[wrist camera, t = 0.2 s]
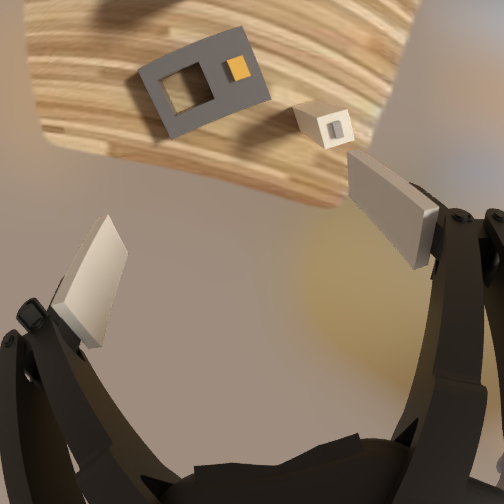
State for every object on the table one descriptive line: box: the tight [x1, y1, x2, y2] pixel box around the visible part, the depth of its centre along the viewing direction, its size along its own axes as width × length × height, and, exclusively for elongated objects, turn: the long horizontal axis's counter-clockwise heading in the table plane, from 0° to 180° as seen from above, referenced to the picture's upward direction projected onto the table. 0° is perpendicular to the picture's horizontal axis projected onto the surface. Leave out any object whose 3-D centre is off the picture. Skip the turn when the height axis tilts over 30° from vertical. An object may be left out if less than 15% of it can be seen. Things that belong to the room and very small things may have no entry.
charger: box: [292, 99, 355, 149], centre depth 33 cm, size 4×4×11 cm
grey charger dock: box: [138, 26, 271, 140], centre depth 31 cm, size 11×14×4 cm
